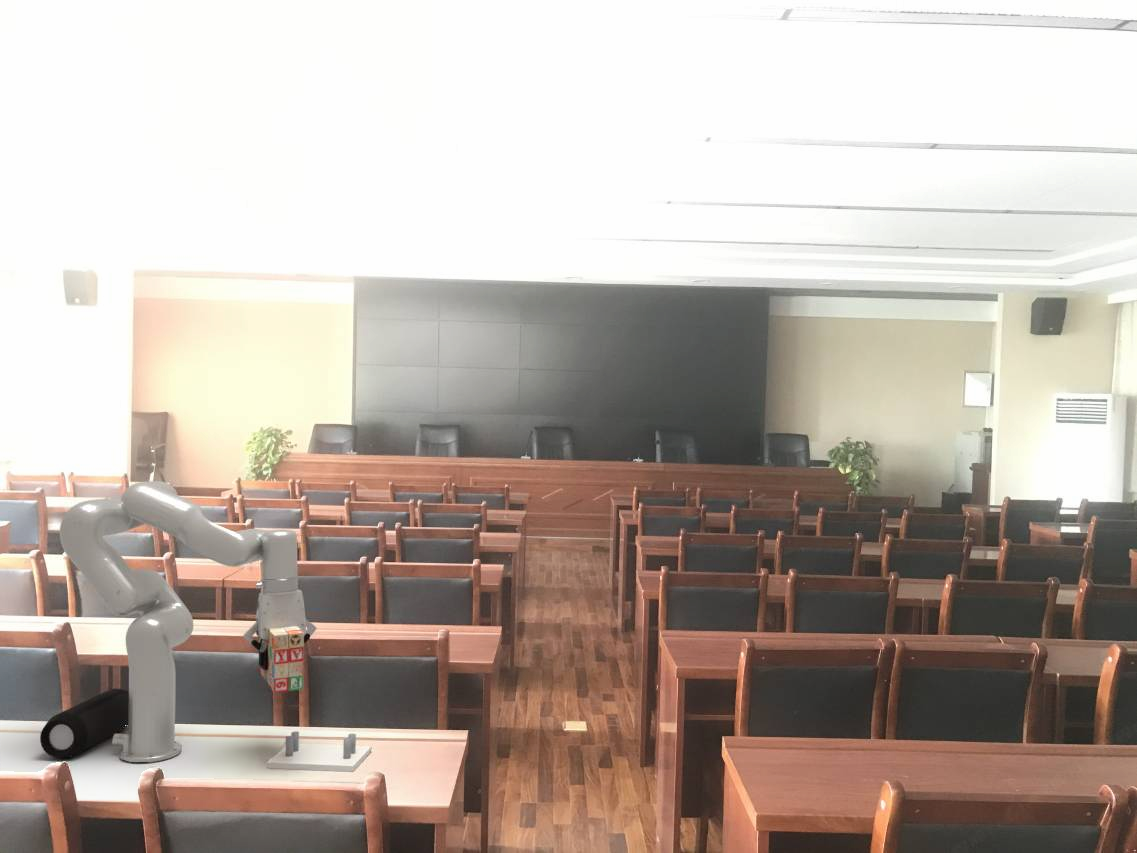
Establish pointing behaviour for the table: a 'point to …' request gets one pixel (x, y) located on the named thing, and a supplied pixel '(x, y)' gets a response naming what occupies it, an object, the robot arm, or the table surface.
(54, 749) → the portable speaker
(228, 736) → the table surface
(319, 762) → the peg board
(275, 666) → the stack of blocks
